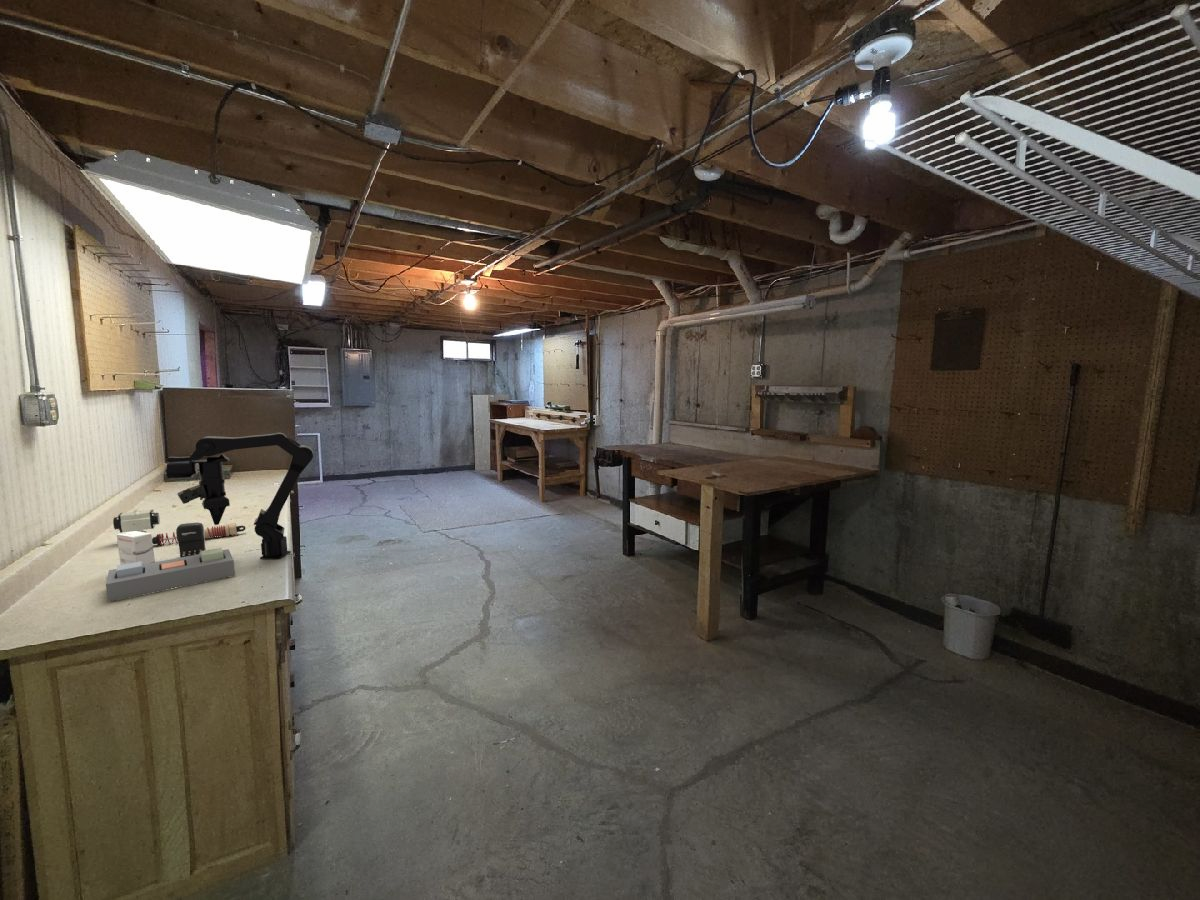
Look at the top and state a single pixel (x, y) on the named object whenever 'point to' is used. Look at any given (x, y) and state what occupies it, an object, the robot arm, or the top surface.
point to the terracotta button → (173, 564)
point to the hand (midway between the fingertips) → (216, 524)
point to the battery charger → (190, 538)
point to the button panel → (168, 576)
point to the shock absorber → (225, 530)
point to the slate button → (129, 569)
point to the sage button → (212, 554)
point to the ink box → (135, 547)
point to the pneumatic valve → (136, 521)
